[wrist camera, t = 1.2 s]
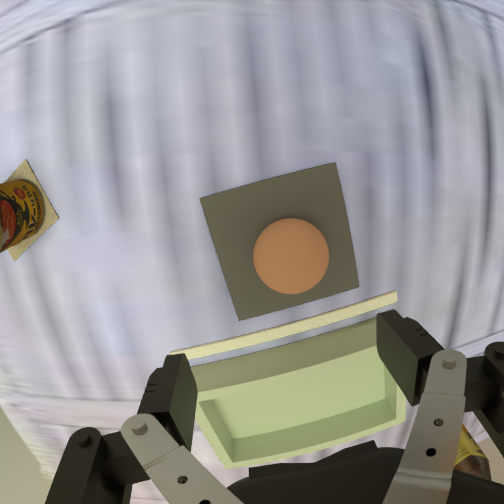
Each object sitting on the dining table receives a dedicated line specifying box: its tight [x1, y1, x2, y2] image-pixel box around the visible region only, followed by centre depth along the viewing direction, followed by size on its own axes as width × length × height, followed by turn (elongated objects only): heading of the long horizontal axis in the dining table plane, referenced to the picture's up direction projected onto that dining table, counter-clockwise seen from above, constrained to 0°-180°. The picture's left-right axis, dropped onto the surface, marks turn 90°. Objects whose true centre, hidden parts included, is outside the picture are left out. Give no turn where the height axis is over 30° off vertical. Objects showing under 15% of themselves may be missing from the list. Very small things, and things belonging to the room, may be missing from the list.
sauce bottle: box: [454, 423, 491, 481], centre depth 29 cm, size 6×6×20 cm
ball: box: [253, 218, 329, 294], centre depth 26 cm, size 6×6×6 cm
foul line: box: [170, 291, 397, 359], centre depth 31 cm, size 24×1×1 cm, turn 105°
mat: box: [200, 163, 359, 321], centre depth 29 cm, size 12×12×1 cm
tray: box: [191, 317, 406, 469], centre depth 32 cm, size 22×13×4 cm, turn 105°
